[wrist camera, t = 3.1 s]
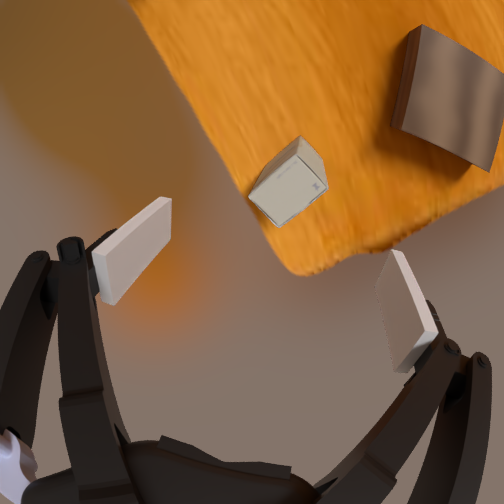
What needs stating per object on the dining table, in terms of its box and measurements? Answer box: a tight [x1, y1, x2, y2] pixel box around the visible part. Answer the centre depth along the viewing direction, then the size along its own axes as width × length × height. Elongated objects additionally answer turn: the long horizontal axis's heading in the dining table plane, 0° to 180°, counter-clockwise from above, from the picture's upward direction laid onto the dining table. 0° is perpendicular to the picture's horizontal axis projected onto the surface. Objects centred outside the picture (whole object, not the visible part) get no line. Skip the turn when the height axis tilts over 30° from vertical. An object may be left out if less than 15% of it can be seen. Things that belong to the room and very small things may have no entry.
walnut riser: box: [390, 24, 504, 172], centre depth 23 cm, size 14×14×5 cm
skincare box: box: [248, 136, 329, 228], centre depth 29 cm, size 6×4×12 cm
